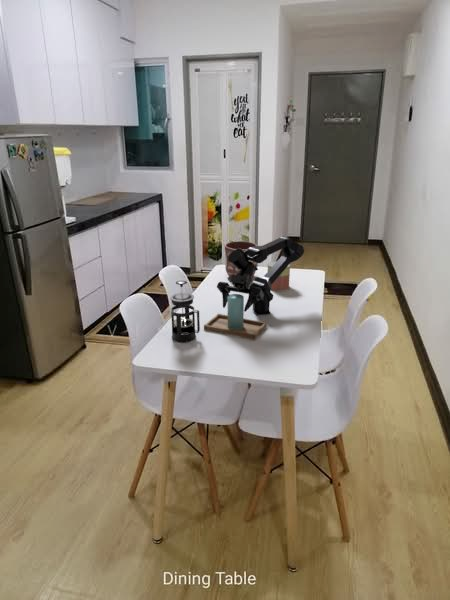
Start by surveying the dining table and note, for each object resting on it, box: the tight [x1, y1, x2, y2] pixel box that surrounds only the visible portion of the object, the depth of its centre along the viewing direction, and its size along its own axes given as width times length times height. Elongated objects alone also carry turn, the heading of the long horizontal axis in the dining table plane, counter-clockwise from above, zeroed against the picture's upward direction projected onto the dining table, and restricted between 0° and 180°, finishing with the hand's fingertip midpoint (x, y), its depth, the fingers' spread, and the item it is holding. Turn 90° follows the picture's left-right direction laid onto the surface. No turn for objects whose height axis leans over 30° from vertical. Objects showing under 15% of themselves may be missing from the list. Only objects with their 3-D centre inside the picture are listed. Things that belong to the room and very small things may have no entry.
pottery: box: [224, 240, 258, 279], centre depth 233 cm, size 18×18×18 cm
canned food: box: [267, 260, 291, 292], centre depth 219 cm, size 11×11×12 cm
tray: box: [203, 313, 268, 341], centre depth 176 cm, size 13×22×2 cm, turn 64°
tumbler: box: [227, 293, 245, 330], centre depth 174 cm, size 7×7×13 cm
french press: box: [169, 280, 201, 344], centre depth 165 cm, size 12×9×23 cm
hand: (234, 309), depth 172 cm, fingers open, 9 cm apart
